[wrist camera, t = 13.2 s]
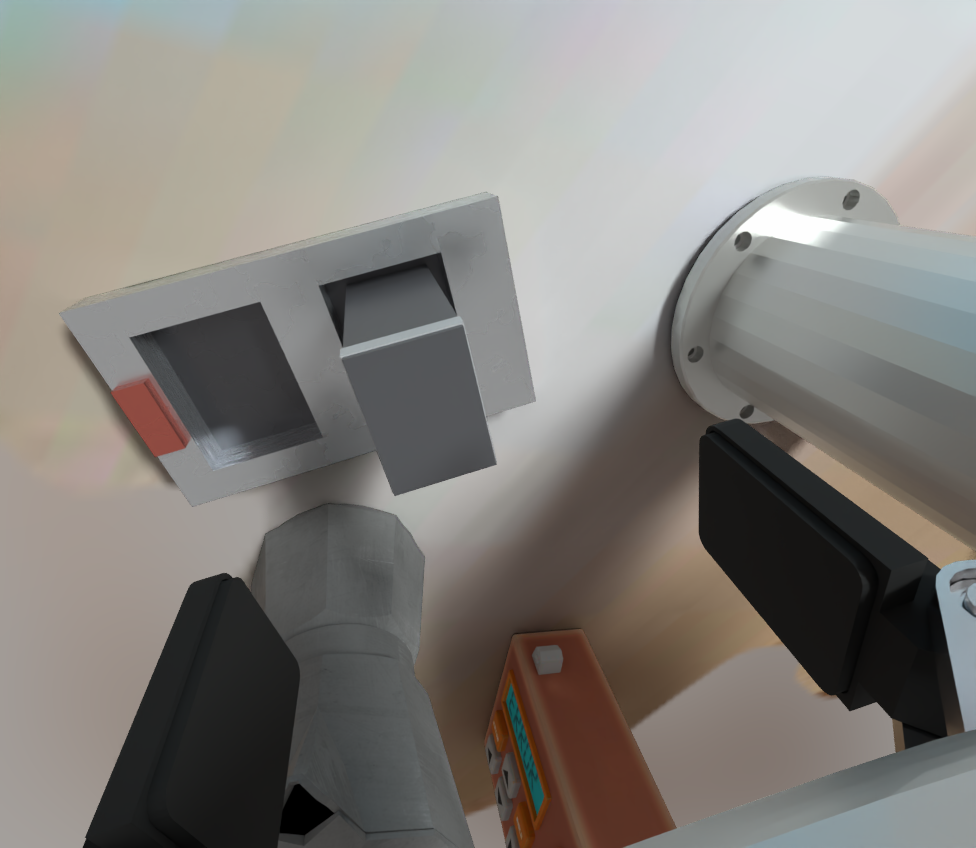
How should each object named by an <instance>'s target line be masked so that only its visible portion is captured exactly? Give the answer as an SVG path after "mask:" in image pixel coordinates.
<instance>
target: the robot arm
mask: <svg viewBox="0 0 976 848" xmlns="http://www.w3.org/2000/svg"><path fill="white" fill-rule="evenodd" d="M671 352H672V358H673V364H674V369H675V371H676V374H677V376H678V379H679V381H680V384H681V386H682V387H683V388H684V390H685V391H686V392H687V394H688V395H689V396H690V398H691V399H692V400H694V401H695V402H696V403H697V404H699V405H700V406H701V407H702V408H703V409H705V410H706V411H708V412H709V413H711V414H713V415H714V416H716V417H718V418H720V419H723V420H727V421H725V422H722V423H718V424H715V425H712V426H709V427H708V428H707V430H706V435H704V436H702V437H701V438H700V443H699V536H700V539H701V542H702V544H703V546H704V548H705V549H706V550H707V552H708V553H709V554H710V555H711V556H712V558H713V559H714V560H715V561H716V562H717V564H718V565H719V566H720V567H721V568H722V570H723V571H724V572H725V573H726V575H727V576H728V577H729V578H730V579H731V581H732V582H733V583H734V584H735V585H736V587H737V588H738V589H739V590H740V591H741V593H742V594H743V595H744V596H745V598H746V599H747V600H748V601H749V602H750V604H751V605H752V606H753V607H754V608H755V610H756V611H757V612H758V613H759V614H760V616H761V617H762V618H763V619H764V621H765V622H766V623H767V624H768V625H769V627H770V628H771V629H772V630H773V631H774V633H775V634H776V635H777V636H778V637H779V639H780V640H781V641H782V642H783V644H784V645H785V646H786V647H787V648H788V649H789V651H790V652H791V653H792V654H793V656H795V658H796V659H797V660H798V662H799V663H800V664H801V665H802V667H803V668H804V669H805V670H806V671H807V673H808V674H809V675H810V676H811V677H812V679H813V680H814V681H815V682H816V683H817V685H818V686H819V687H820V688H821V689H822V690H823V691H824V692H826V693H827V694H829V695H836V696H837V697H838V698H839V699H840V700H841V701H842V703H843V704H844V705H845V706H846V707H847V709H848V710H849V711H852V710H855V709H858V708H861V707H863V706H866V705H869V704H872V703H875V702H877V703H878V704H879V705H880V706H881V707H882V708H883V709H884V710H885V712H886V713H887V714H888V715H889V716H890V717H891V718H892V721H893V731H894V742H895V751H896V753H894V754H890V755H887V756H885V757H881V758H878V759H875V760H872V761H869V762H866V763H863V764H860V765H857V766H854V767H851V768H848V769H845V770H842V771H839V772H836V773H833V774H830V775H827V776H825V777H822V778H819V779H816V780H813V781H810V782H807V783H804V784H802V785H799V786H796V787H793V788H790V789H787V790H785V791H782V792H779V793H776V794H773V795H770V796H767V797H765V798H762V799H759V800H756V801H753V802H750V803H747V804H745V805H742V806H739V807H736V808H733V809H730V810H728V811H725V812H722V813H719V814H716V815H713V816H710V817H708V818H705V819H702V820H699V821H696V822H693V823H691V824H688V825H685V826H682V827H679V828H676V829H674V830H671V831H668V832H665V833H662V834H660V835H657V836H654V837H651V838H648V839H646V840H643V841H640V842H637V843H634V844H632V845H629V846H626V847H623V848H976V560H965V561H957V562H953V563H951V564H949V565H947V566H944V567H943V568H942V569H940V568H938V567H937V566H936V565H934V564H933V563H932V562H930V561H929V560H928V558H927V557H926V556H925V555H923V554H922V553H921V552H919V551H918V550H917V549H915V548H914V547H912V546H911V545H910V544H908V543H907V542H906V541H904V540H903V539H902V538H900V537H899V536H898V535H896V534H895V533H894V532H892V531H891V530H890V529H888V528H887V527H886V526H884V525H883V524H881V523H880V522H879V521H877V520H876V519H875V518H873V517H872V516H871V515H869V514H868V513H867V512H865V511H864V510H863V509H861V508H860V507H859V506H857V505H856V504H855V503H853V502H852V501H850V500H849V499H848V498H846V497H845V496H844V495H842V494H841V493H840V492H838V491H837V490H836V489H834V488H833V487H832V486H830V485H829V484H828V483H826V482H825V481H824V480H822V479H821V478H820V477H818V476H817V475H815V474H814V473H813V472H811V471H810V470H809V469H807V468H806V467H805V466H803V465H802V464H801V463H799V462H798V461H797V460H795V459H794V458H793V457H791V456H790V455H789V454H787V453H786V452H784V451H783V450H782V449H780V448H779V447H778V446H776V445H775V444H774V443H772V442H771V441H770V440H768V439H767V438H766V437H764V436H763V435H762V434H760V433H759V432H758V431H756V430H755V429H753V428H752V427H751V426H749V425H748V424H756V423H763V422H770V421H773V420H775V421H777V422H778V423H780V424H781V425H783V426H784V427H786V428H788V429H789V430H791V431H792V432H794V433H795V434H797V435H798V436H800V437H801V438H803V439H804V440H806V441H807V442H809V443H810V444H812V445H813V446H815V447H817V448H818V449H820V450H821V451H823V452H824V453H826V454H827V455H829V456H830V457H832V458H833V459H835V460H836V461H838V462H839V463H841V464H843V465H844V466H846V467H847V468H849V469H850V470H852V471H853V472H855V473H856V474H858V475H859V476H861V477H862V478H864V479H865V480H867V481H868V482H870V483H872V484H873V485H875V486H876V487H878V488H879V489H881V490H882V491H884V492H885V493H887V494H888V495H890V496H891V497H893V498H894V499H896V500H898V501H899V502H901V503H902V504H904V505H905V506H907V507H908V508H910V509H911V510H913V511H914V512H916V513H917V514H919V515H920V516H922V517H923V518H925V519H927V520H928V521H930V522H931V523H933V524H934V525H936V526H937V527H939V528H940V529H942V530H943V531H945V532H946V533H948V534H949V535H951V536H953V537H954V538H956V539H957V540H959V541H960V542H962V543H963V544H965V545H966V546H968V547H969V548H971V549H972V550H974V551H975V552H976V236H969V235H962V234H956V233H949V232H942V231H935V230H928V229H922V228H915V227H908V226H901V225H900V223H899V220H898V217H897V214H896V213H895V211H894V210H893V208H892V207H891V205H890V204H889V202H888V201H887V199H886V198H885V197H883V196H882V195H881V194H880V193H879V192H877V191H876V190H875V189H874V188H873V187H871V186H868V185H866V184H863V183H861V182H858V181H856V180H852V179H843V178H833V177H816V178H805V179H801V180H797V181H794V182H790V183H786V184H783V185H781V186H779V187H777V188H775V189H773V190H771V191H769V192H767V193H765V194H763V195H761V196H759V197H758V198H756V199H755V200H753V201H752V202H751V203H749V204H748V205H747V206H745V207H744V208H742V209H741V210H740V211H738V212H737V213H736V214H735V215H734V216H733V217H732V218H731V219H730V220H729V221H728V222H727V223H726V224H725V225H724V226H723V227H722V228H721V229H720V230H719V231H718V232H717V233H716V234H715V235H714V237H713V238H712V239H711V241H710V242H709V243H708V245H707V246H706V247H705V248H704V250H703V251H702V252H701V254H700V255H699V257H698V259H697V260H696V262H695V264H694V266H693V268H692V269H691V271H690V273H689V275H688V276H687V278H686V281H685V283H684V286H683V288H682V291H681V294H680V296H679V299H678V301H677V305H676V309H675V314H674V319H673V324H672V335H671ZM299 683H300V669H299V665H298V662H297V660H296V658H295V657H294V655H293V654H292V652H291V651H290V649H289V648H288V646H287V645H286V643H285V642H284V640H283V639H282V637H281V636H280V635H279V633H278V632H277V630H276V629H275V627H274V626H273V624H272V623H271V621H270V620H269V618H268V617H267V615H266V614H265V613H264V611H263V610H262V608H261V607H260V605H259V604H258V602H257V601H256V599H255V598H254V596H253V595H252V593H251V592H250V591H249V589H248V588H247V586H246V585H245V583H244V582H243V581H242V579H241V578H239V577H235V578H232V577H231V576H230V575H229V574H227V573H222V574H219V575H215V576H212V577H209V578H205V579H202V580H199V581H196V582H194V583H192V584H191V585H190V587H189V588H188V591H187V593H186V595H185V598H184V600H183V602H182V605H181V607H180V610H179V612H178V614H177V617H176V619H175V622H174V624H173V627H172V629H171V631H170V634H169V637H168V639H167V641H166V643H165V646H164V649H163V651H162V653H161V656H160V658H159V660H158V663H157V665H156V668H155V670H154V673H153V675H152V677H151V680H150V682H149V685H148V687H147V690H146V692H145V694H144V697H143V699H142V702H141V704H140V706H139V709H138V711H137V714H136V716H135V718H134V721H133V723H132V726H131V728H130V730H129V733H128V735H127V738H126V740H125V743H124V745H123V747H122V750H121V752H120V755H119V757H118V759H117V762H116V764H115V767H114V769H113V771H112V774H111V777H110V779H109V781H108V784H107V786H106V789H105V791H104V793H103V796H102V798H101V801H100V803H99V805H98V808H97V810H96V813H95V815H94V818H93V820H92V822H91V825H90V827H89V829H88V832H87V834H86V837H85V838H86V841H85V843H84V846H83V848H277V847H278V840H279V832H280V825H281V817H282V810H283V802H284V795H285V787H286V780H287V773H288V765H289V758H290V750H291V743H292V735H293V728H294V720H295V713H296V706H297V698H298V691H299Z"/></svg>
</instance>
